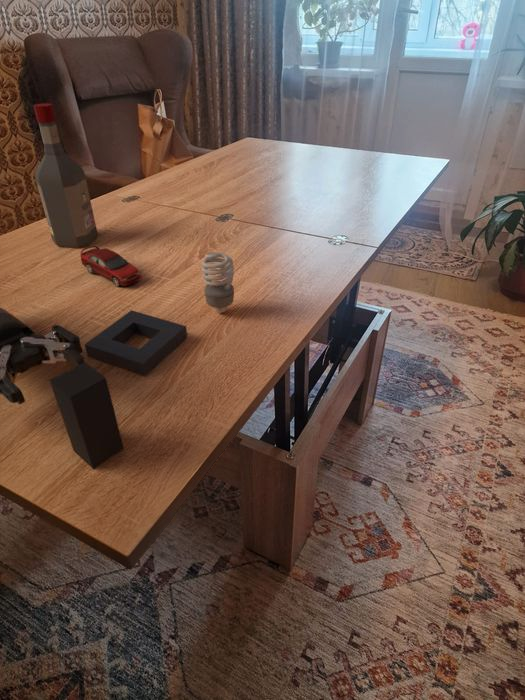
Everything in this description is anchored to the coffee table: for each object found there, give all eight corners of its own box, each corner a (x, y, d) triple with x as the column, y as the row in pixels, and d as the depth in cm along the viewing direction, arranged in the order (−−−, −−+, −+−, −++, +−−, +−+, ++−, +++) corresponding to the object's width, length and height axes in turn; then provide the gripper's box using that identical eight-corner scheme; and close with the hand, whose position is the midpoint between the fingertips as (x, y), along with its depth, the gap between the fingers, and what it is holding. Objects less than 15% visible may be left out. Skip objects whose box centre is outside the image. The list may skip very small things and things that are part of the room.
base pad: (145, 376, 75) (142, 363, 73) (87, 356, 79) (84, 344, 78) (187, 337, 83) (186, 325, 82) (133, 321, 88) (131, 310, 86)
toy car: (103, 261, 108) (99, 240, 105) (143, 282, 100) (139, 260, 97) (81, 269, 105) (76, 248, 102) (120, 292, 97) (116, 269, 94)
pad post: (93, 469, 60) (70, 397, 53) (73, 451, 63) (49, 379, 56) (124, 448, 63) (105, 377, 56) (104, 431, 65) (84, 361, 58)
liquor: (101, 234, 121) (73, 101, 103) (86, 249, 114) (53, 109, 96) (67, 232, 122) (33, 100, 104) (49, 247, 114) (10, 108, 97)
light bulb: (200, 316, 89) (194, 257, 82) (214, 302, 93) (209, 244, 86) (227, 323, 87) (224, 262, 80) (240, 308, 91) (238, 249, 84)
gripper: (-65, 335, 65) (-13, 386, 56) (35, 295, 74) (94, 334, 65) (-44, 377, 69) (8, 431, 61) (48, 336, 78) (105, 377, 69)
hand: (52, 381), depth 63 cm, fingers open, 8 cm apart
